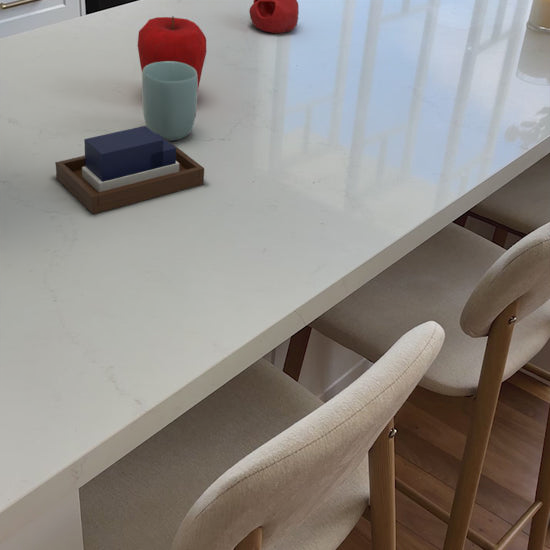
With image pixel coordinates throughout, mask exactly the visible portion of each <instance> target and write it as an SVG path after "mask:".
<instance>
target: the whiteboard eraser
mask: <svg viewBox="0 0 550 550" xmlns="http://www.w3.org/2000/svg"><path fill="white" fill-rule="evenodd" d="M171 143H172V142H171ZM171 143H169V142H168V141H167V140H165V139H164V138H163V137H162V136H160V135H159V134H155V133H154V132H153V131H151V130H150V129H149V128H147V127H146V125H143V126H138V127H133V128H128V129H124V130H120V131H115V132H110V133H106V134H102V135H96V136H92V137H87V138H84V143H83V144H84V156H85V167H82V177H83V178H84V179H85V180H86V181H87V182H88V183H89V184H90V185H91V186H92V187H93V188H95V189H96V190H97V191H98V192H102V191H106V190H110V189H113V188H117V187H121V186H125V185H129V184H133V183H137V182H141V181H144V180H148V179H152V178H156V177H160V176H164V175H168V174H172V173H176V172H179V163H178V162H177V161H176V147H177V146H176V145H175V146H176V147H175V146H173V145H174V144H173V143H172V144H173V145H172V144H171Z"/></svg>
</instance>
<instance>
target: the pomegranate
mask: <svg viewBox="0 0 550 550" xmlns="http://www.w3.org/2000/svg"><path fill="white" fill-rule="evenodd" d="M299 13H300V11H299V2H298V0H253V3H252V5H251V6H250V7H249V13H248V14H249V18H250V21H251V23H252V25H254V26H255V27H256V28H257V29H259V30H260V31H262V32H265V33H272V34H284V33H287V32H291V31H292V30H294V29H295V28H296V27H297V25H298V21H299Z"/></svg>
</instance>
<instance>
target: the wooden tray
mask: <svg viewBox="0 0 550 550" xmlns="http://www.w3.org/2000/svg"><path fill="white" fill-rule="evenodd" d="M163 138H164V137H163ZM164 139H165V140H167V139H166V138H164ZM167 141H168V140H167ZM168 142H169V143H171V144H172V145H173V146H175V147H176V161H177V162H178V163H179V172H176V173H172V174H168V175H164V176H160V177H156V178H152V179H148V180H144V181H141V182H137V183H133V184H129V185H125V186H121V187H117V188H113V189H110V190H106V191H102V192H98V191H97V190H96V189H95V188H93V187H92V186H91V185H90V184H89V183H88V182H87V181H86V180H85V179H84V178H83V177H82V167H85V155H81V156H77V157H72V158H68V159H64V160H60V161H55V175H56V176H55V177H56V180H57V181H58V182H59V183H60V184H62V186H63V187H64V188H65V189H67V190H68V192H70V194H71V195H73V196H74V197H75V198H76V199H77V200H78V201H79V202H80V203H81V204H82V205H83V206H84V207H85V208H86V209H87V210H88V211H89V212H90V213H91V214H92V215H95V214H99V213H102V212H107V211H110V210H114V209H117V208H121V207H125V206H129V205H133V204H136V203H140V202H144V201H147V200H150V199H154V198H159V197H162V196H165V195H166V196H167V195H169V194H170V195H171V194H174V193H177V192H180V191H185V190H187V189H191V188H194V187H195V188H196V187H199V186H203V185H204V183H205V167H204V166H203V165H201V164H200V163H198V162H197V161H196V160H194V159H193V158H192V157H191V156H189V155H188V154H186V153H185V152H184V151H183V150H181V149H180V148H179V147H177V146H176V145H174V143H172V142H171V141H168Z"/></svg>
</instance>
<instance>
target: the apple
mask: <svg viewBox="0 0 550 550" xmlns="http://www.w3.org/2000/svg"><path fill="white" fill-rule="evenodd" d="M137 51H138V58H139V65H140V69H141V72H142V71H143V69H144V67H145V66H146V65H149V64H151V63H155V62H162V61H175V62H181V63H185V64H187V65H190V66H191V67H193V68H194V69H195V70H196V71H197V76H198V86H197V93H198V91H199V87H200V83H201V77H202V74H203V73H202V72H203V67H204V65H205V64H204V63H205V60H206V56H207V38H206V35H205V34H204V32H203V31H202V29H201V28H200V26H199V25H198V24H197V23H195V22H194V21H193V20H190V19H188V18H180V17H175V16H173V15H172V16H171V17H169V16H163V17H162V16H161V17H160V16H159V17H157V16H156V17H154V18H150V19H148V20H147V22H146V23H145V24H144V25H143V26H142V27H141V29H139V31H138V35H137Z"/></svg>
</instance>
